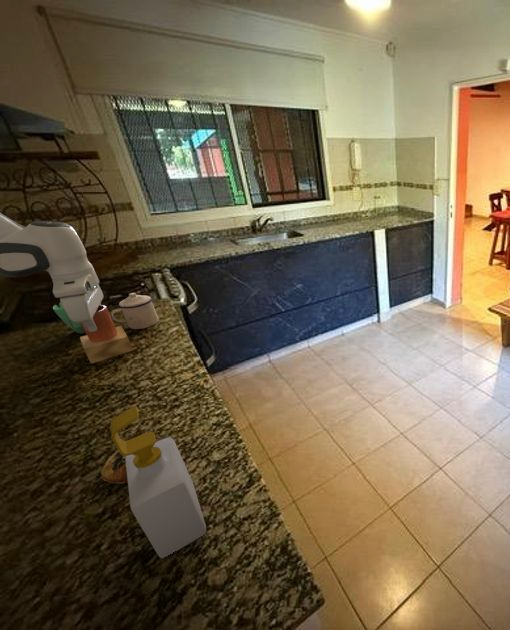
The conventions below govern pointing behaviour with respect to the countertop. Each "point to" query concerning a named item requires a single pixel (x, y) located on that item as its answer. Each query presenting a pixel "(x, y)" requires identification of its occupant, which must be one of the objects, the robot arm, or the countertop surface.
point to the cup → (101, 326)
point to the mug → (68, 319)
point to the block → (106, 346)
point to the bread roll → (117, 468)
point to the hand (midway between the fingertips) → (97, 323)
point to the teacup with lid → (137, 311)
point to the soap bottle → (159, 488)
